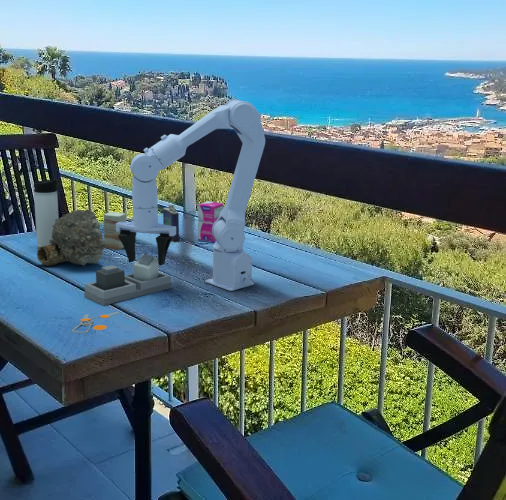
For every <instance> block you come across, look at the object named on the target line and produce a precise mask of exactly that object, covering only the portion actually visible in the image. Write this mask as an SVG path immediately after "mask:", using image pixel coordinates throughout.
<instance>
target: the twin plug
mask: <svg viewBox="0 0 506 500" xmlns="http://www.w3.org/2000/svg"><path fill="white" fill-rule="evenodd" d="M125 272H126V271H125V270H124V269H121V268H120V267H119V266H117V265H116V266H115V265H114V264H112V265H108V266H103V267H101V269H100V270H95V280H96V281H95V282H96V287H97V288H100V289H102V290H104V291H105V290H110V289H114V288H118V287H122V286H125V275H126V273H125Z"/></svg>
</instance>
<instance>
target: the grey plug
mask: <svg viewBox="0 0 506 500" xmlns="http://www.w3.org/2000/svg"><path fill="white" fill-rule="evenodd" d="M132 265H133V273H134V279H136V280H139V281H147V280H151V279H155V278H157V276H158V275H159V272H160V271H159V268H160V267H159V266H160V265H159V264H158V256H157V257H156V256H154V255H153V256H152V255H149V254H145V253H143V254H142V255H141V256H140V257H139V258H138V259H137V260H135V262H133V264H132Z"/></svg>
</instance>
